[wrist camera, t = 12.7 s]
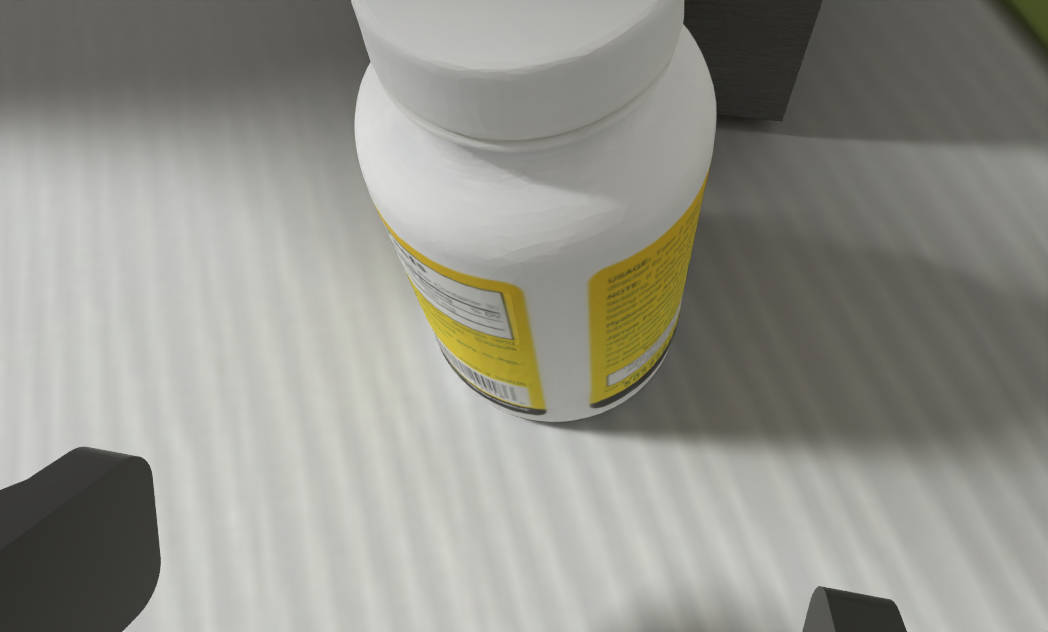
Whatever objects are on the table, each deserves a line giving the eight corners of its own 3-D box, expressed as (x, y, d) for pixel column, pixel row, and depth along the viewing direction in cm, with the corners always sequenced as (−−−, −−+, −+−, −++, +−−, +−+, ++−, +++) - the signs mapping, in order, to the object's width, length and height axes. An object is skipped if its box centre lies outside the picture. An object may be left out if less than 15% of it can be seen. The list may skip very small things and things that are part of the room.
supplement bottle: (659, 202, 19) (720, -231, 10) (691, 418, 16) (808, 104, 7) (436, 221, 19) (300, -183, 10) (436, 436, 17) (259, 154, 8)
